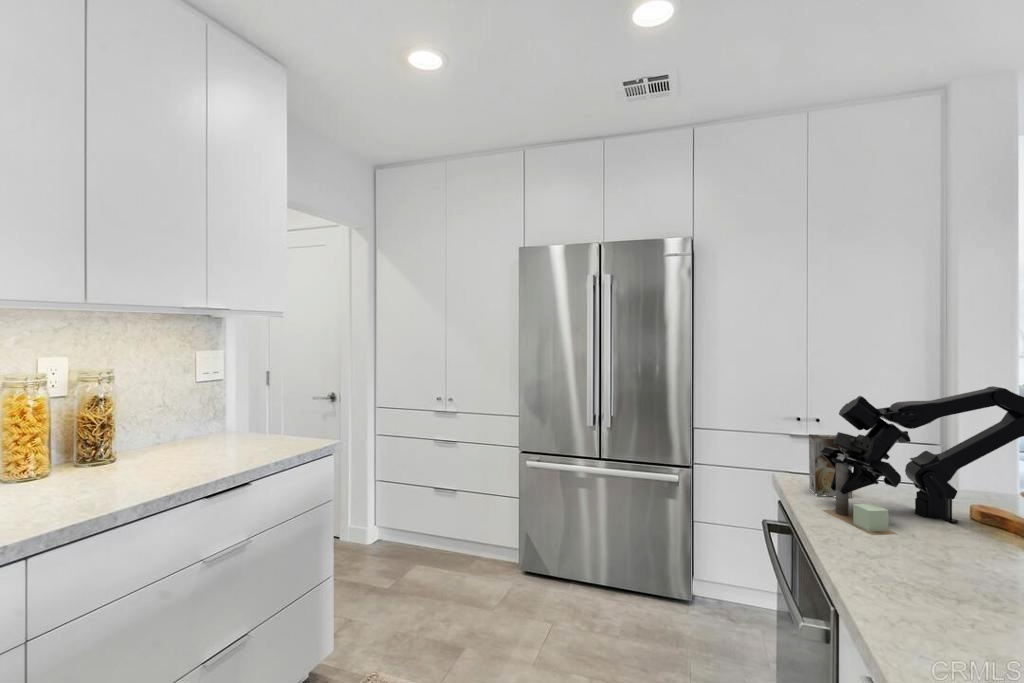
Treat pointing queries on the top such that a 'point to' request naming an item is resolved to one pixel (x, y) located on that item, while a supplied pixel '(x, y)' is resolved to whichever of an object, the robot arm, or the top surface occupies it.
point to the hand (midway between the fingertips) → (836, 491)
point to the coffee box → (822, 465)
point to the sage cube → (871, 517)
